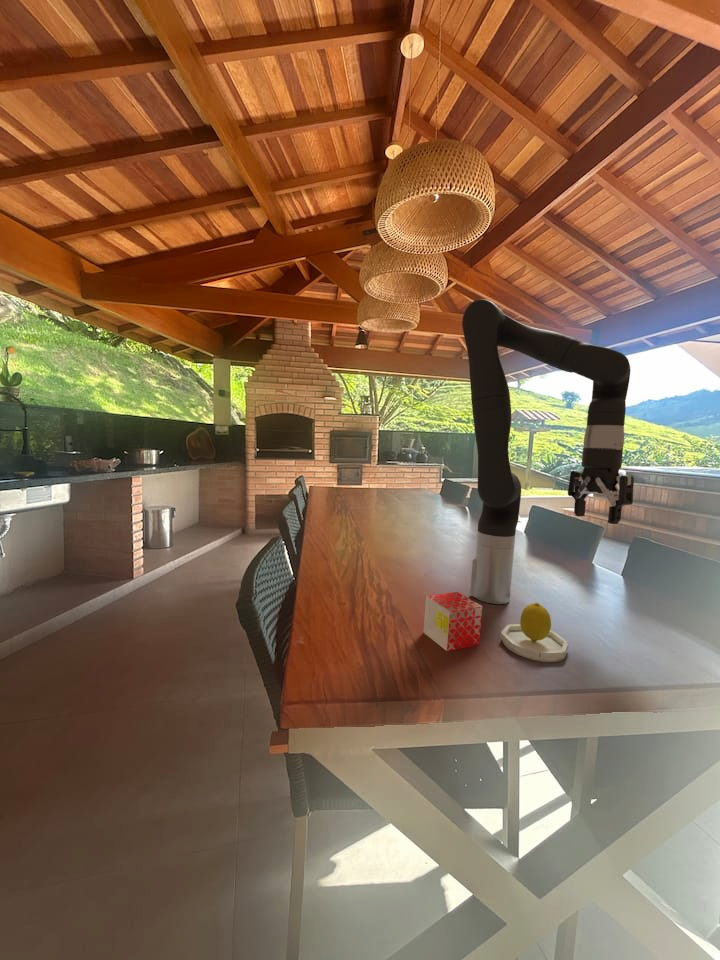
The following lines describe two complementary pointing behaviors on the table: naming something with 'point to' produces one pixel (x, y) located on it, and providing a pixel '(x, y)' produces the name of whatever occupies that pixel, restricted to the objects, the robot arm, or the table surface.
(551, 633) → the dish
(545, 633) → the lemon
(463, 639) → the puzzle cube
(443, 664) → the table surface
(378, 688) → the table surface
